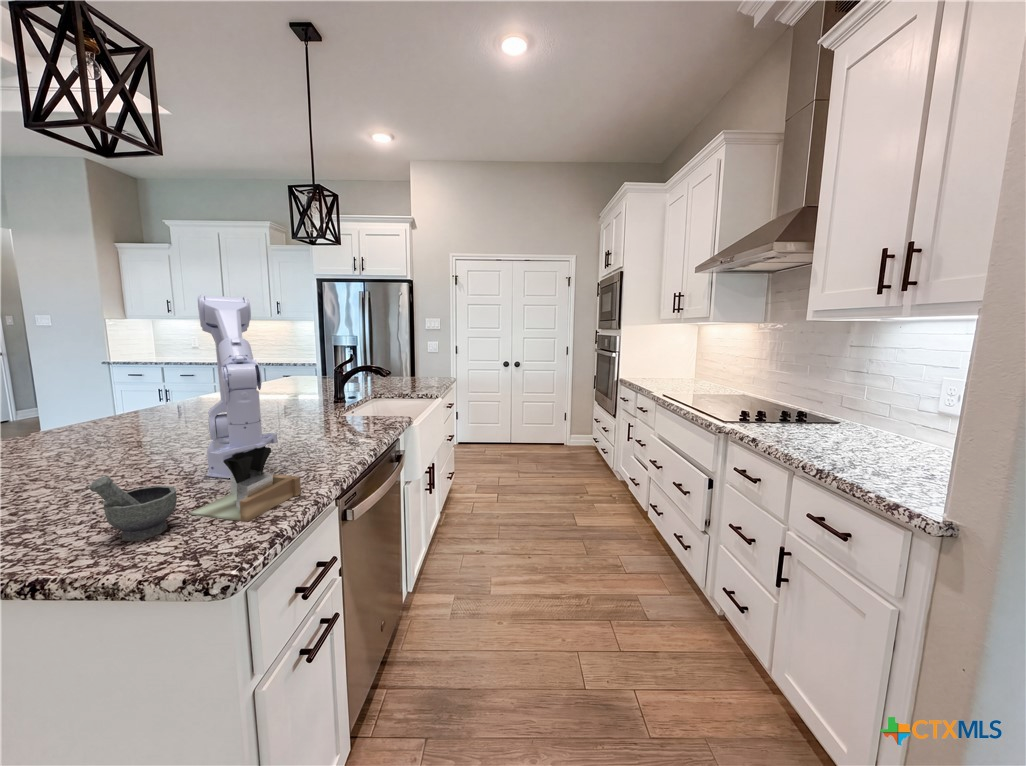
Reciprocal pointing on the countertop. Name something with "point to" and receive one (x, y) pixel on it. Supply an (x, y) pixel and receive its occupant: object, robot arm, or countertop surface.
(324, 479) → the countertop surface
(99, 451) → the countertop surface
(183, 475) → the countertop surface
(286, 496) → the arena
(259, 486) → the bracket
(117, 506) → the mortar and pestle
